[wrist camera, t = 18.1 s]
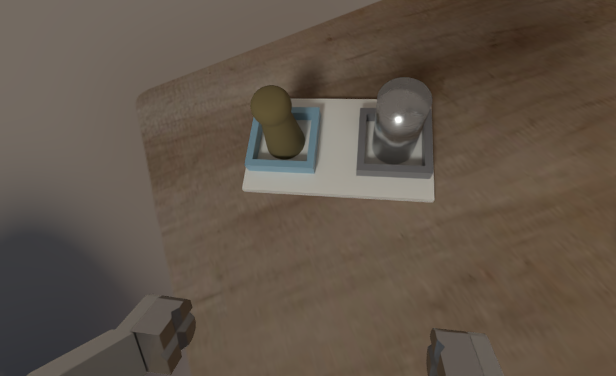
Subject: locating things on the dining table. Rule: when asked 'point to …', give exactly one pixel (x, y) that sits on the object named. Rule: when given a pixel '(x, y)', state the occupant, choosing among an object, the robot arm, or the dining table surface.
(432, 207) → the dining table surface
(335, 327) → the dining table surface
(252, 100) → the cork
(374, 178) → the pallet board
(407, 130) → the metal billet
